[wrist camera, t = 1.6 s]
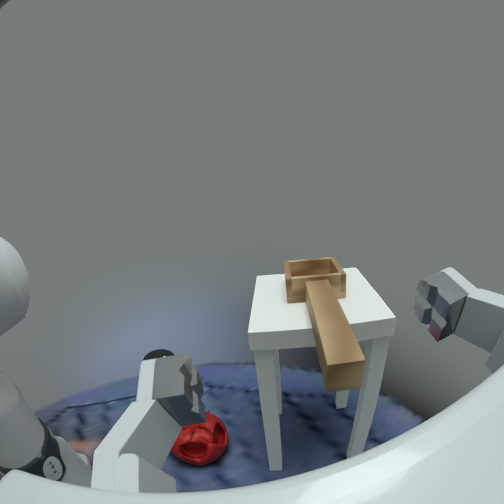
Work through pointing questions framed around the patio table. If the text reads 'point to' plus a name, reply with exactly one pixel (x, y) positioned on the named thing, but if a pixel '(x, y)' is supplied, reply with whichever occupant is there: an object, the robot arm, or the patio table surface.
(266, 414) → the tall stand
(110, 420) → the patio table surface
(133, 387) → the patio table surface
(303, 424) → the patio table surface
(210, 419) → the pomegranate
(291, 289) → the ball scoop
